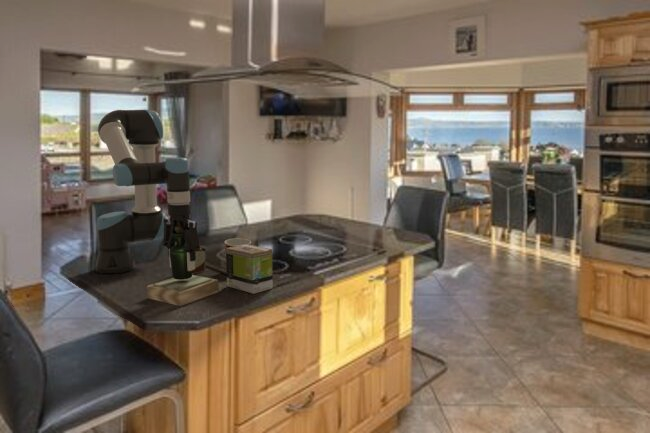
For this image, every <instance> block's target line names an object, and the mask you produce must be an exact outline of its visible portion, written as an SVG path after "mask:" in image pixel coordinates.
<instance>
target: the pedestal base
mask: <svg viewBox="0 0 650 433" xmlns="http://www.w3.org/2000/svg"><path fill="white" fill-rule="evenodd" d="M146 292H147V299H148V300H153V301H158V302H162V303H165V304H171V305H175V306H179V307H182V306H185V305H187V304H190V303H193V302H196V301H198V300H201V299H204V298H207V297H208V296H212V295H213V294H216V293H219V292H220V291H219V279H216V278H215V279H214V278H211V277H207V276H206V277H204V276H200V275H196V274H195V275H194V274H192V277H191V278H189V279H184V280H177V279H174V278H173V277H171V278H168V279H164V280H160V281H158V282H155V283H152V284H149V285H147V286H146Z"/></svg>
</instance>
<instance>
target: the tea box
mask: <svg viewBox="0 0 650 433" xmlns="http://www.w3.org/2000/svg"><path fill="white" fill-rule="evenodd" d="M225 267H226V286H227V287H228V288H233V289H236V290H238V291H239V290H240V291H243V292H246V293H250V294H258V293H260V292H265V291H268V290H272V289H273V287H274V286H273V285H274V282H273V280H274V279H273V278H274V276H273V274H274V273H273V272H274V271H273V249H271V248H267V247H263V246H262V247H261V246H257V245H253V244H252V245H251V244H250V245H247V244H244V245H239V246H234V247H229V248H226V247H225Z"/></svg>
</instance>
